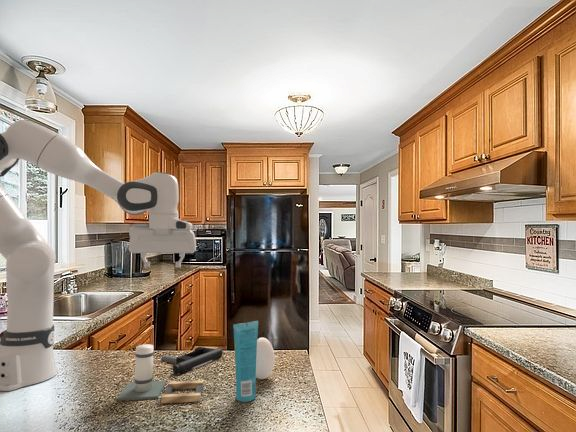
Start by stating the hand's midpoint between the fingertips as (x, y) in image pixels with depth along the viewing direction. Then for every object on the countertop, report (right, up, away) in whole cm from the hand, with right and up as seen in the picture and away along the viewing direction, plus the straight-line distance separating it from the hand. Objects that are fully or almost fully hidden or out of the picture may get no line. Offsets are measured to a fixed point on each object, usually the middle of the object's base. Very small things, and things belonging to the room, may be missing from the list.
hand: (162, 267), depth 116 cm
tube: (+29, -31, -22) cm, 47 cm away
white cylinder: (+1, -30, -18) cm, 35 cm away
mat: (+1, -30, -18) cm, 35 cm away
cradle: (+12, -30, -20) cm, 38 cm away
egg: (+32, -31, -9) cm, 46 cm away
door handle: (+7, -32, +5) cm, 33 cm away
